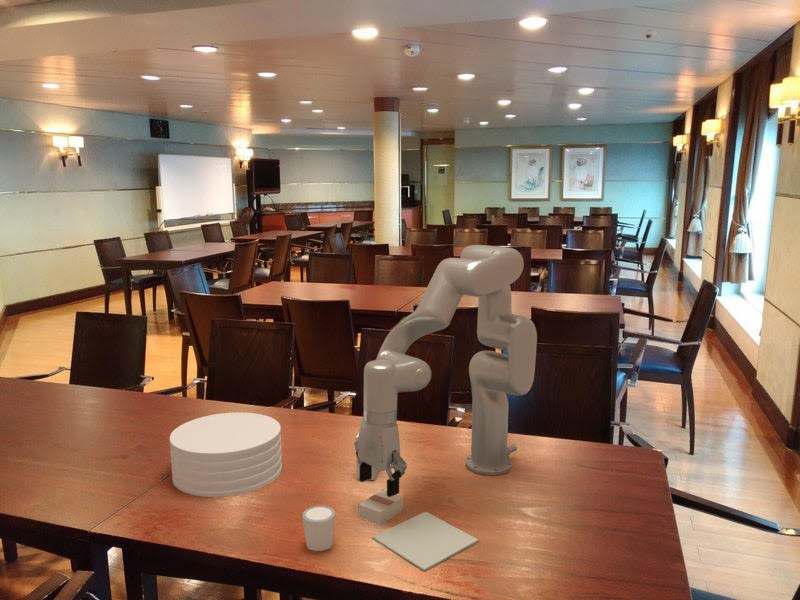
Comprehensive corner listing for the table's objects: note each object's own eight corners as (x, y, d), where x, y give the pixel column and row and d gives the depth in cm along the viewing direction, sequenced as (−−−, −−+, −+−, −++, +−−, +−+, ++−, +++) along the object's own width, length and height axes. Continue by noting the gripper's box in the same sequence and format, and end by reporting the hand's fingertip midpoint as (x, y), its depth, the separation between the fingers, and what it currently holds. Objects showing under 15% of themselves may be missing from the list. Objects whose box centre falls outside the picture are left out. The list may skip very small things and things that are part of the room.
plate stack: (303, 470, 170) (302, 430, 168) (208, 509, 150) (206, 463, 148) (243, 442, 189) (242, 405, 187) (152, 473, 169) (149, 432, 167)
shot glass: (304, 535, 138) (303, 505, 137) (336, 534, 139) (335, 504, 138) (302, 553, 132) (301, 522, 131) (335, 552, 132) (334, 520, 131)
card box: (382, 503, 153) (382, 488, 153) (403, 510, 150) (403, 495, 149) (359, 518, 146) (358, 503, 145) (380, 526, 143) (380, 511, 142)
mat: (425, 513, 148) (425, 511, 148) (478, 541, 136) (478, 539, 136) (372, 538, 137) (372, 536, 137) (424, 571, 126) (424, 569, 125)
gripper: (343, 409, 147) (342, 479, 150) (393, 430, 135) (391, 506, 138) (368, 402, 152) (367, 470, 155) (418, 422, 140) (416, 496, 142)
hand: (378, 487), depth 146 cm, fingers open, 9 cm apart
